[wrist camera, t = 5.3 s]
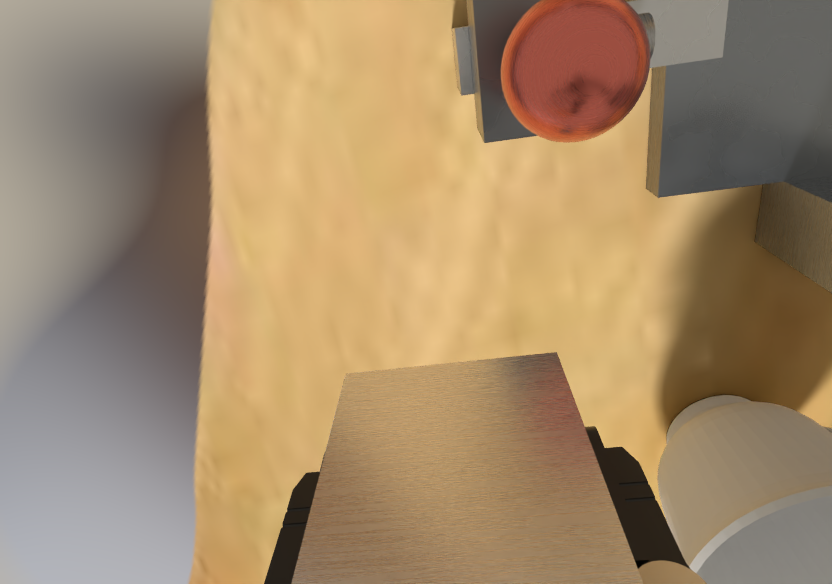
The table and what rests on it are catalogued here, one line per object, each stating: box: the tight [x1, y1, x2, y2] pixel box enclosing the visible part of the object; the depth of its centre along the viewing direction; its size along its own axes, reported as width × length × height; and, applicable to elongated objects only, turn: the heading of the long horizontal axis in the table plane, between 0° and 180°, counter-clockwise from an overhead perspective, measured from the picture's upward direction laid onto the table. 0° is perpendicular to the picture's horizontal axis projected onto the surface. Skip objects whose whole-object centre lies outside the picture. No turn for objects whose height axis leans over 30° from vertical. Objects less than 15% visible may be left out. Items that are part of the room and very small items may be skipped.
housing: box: [291, 352, 643, 584], centre depth 10 cm, size 5×5×8 cm
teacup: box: [658, 395, 832, 584], centre depth 27 cm, size 12×15×10 cm
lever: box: [466, 0, 655, 143], centre depth 16 cm, size 6×5×9 cm
